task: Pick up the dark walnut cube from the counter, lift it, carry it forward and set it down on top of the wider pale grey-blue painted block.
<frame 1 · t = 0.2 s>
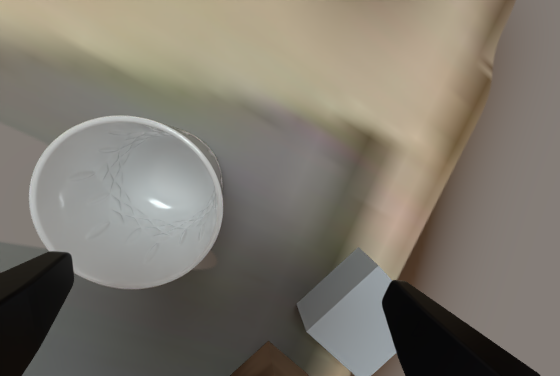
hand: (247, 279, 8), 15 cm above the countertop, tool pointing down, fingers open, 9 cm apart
white cup: (178, 173, 22), on the countertop
riser block: (350, 299, 27), on the countertop
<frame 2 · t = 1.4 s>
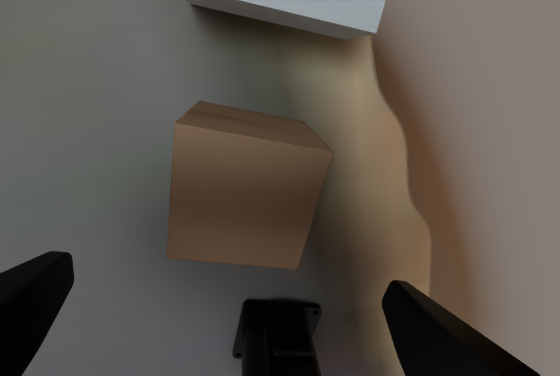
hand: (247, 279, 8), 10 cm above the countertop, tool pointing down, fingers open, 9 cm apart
walnut cube: (245, 160, 17), on the countertop
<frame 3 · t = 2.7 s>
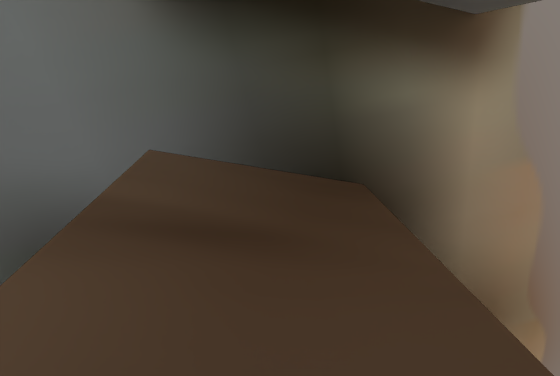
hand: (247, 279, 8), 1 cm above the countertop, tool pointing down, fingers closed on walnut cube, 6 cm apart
walnut cube: (246, 255, 9), on the countertop, touching gripper
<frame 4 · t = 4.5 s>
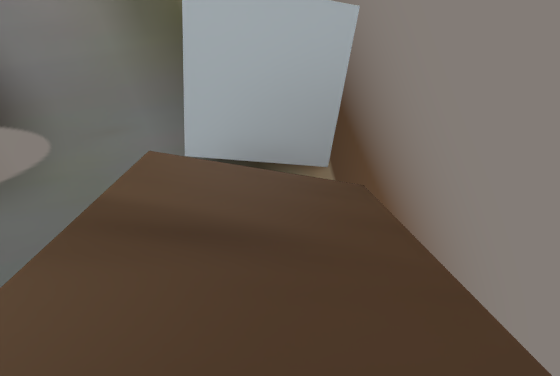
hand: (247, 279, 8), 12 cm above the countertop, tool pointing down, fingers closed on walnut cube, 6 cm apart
walnut cube: (247, 256, 9), point 11 cm above the countertop, touching gripper
riser block: (261, 82, 17), on the countertop
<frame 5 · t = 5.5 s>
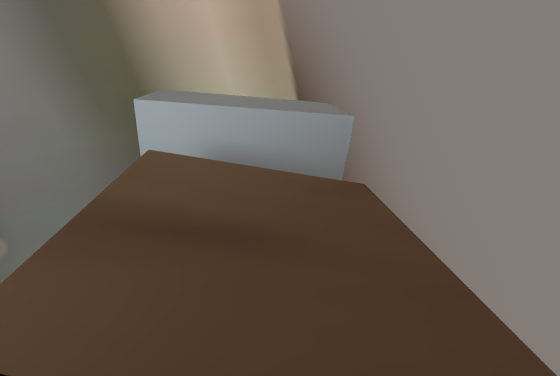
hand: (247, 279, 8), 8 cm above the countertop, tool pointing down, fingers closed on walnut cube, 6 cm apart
walnut cube: (247, 255, 9), point 7 cm above the countertop, touching gripper
riser block: (245, 171, 15), on the countertop
when the fingers open (6 cm above the countertop, at t = 6.3 s): walnut cube drops 1 cm, point 4 cm above the countertop.
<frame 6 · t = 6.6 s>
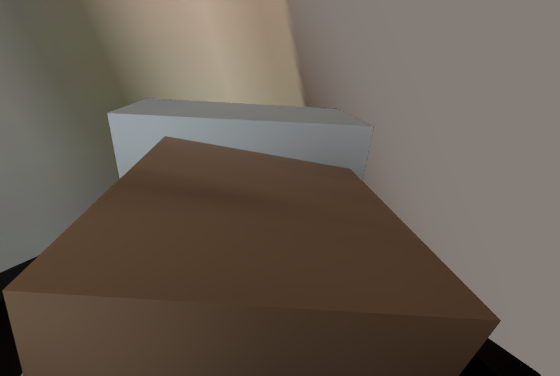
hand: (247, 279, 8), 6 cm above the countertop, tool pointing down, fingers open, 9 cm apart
walnut cube: (247, 231, 10), point 4 cm above the countertop
riser block: (246, 186, 13), on the countertop
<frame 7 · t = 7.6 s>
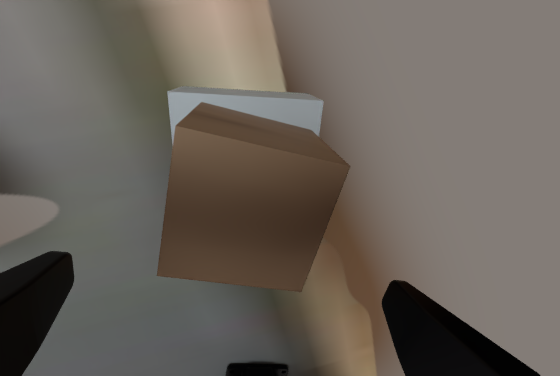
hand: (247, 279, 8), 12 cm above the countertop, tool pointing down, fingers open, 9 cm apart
walnut cube: (246, 168, 15), point 4 cm above the countertop
riser block: (246, 149, 19), on the countertop
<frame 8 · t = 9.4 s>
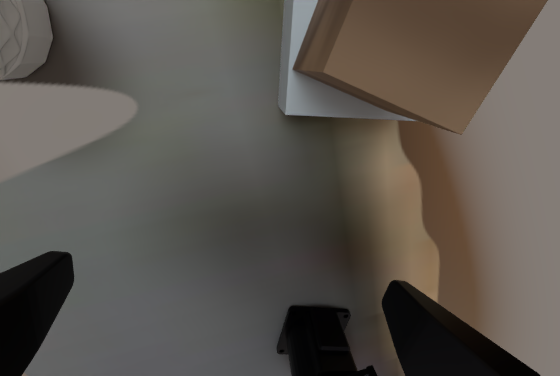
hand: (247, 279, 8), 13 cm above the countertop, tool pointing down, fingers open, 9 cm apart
walnut cube: (367, 33, 14), point 4 cm above the countertop
riser block: (341, 44, 18), on the countertop
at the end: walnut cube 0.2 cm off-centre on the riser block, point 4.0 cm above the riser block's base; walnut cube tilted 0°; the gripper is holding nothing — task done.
